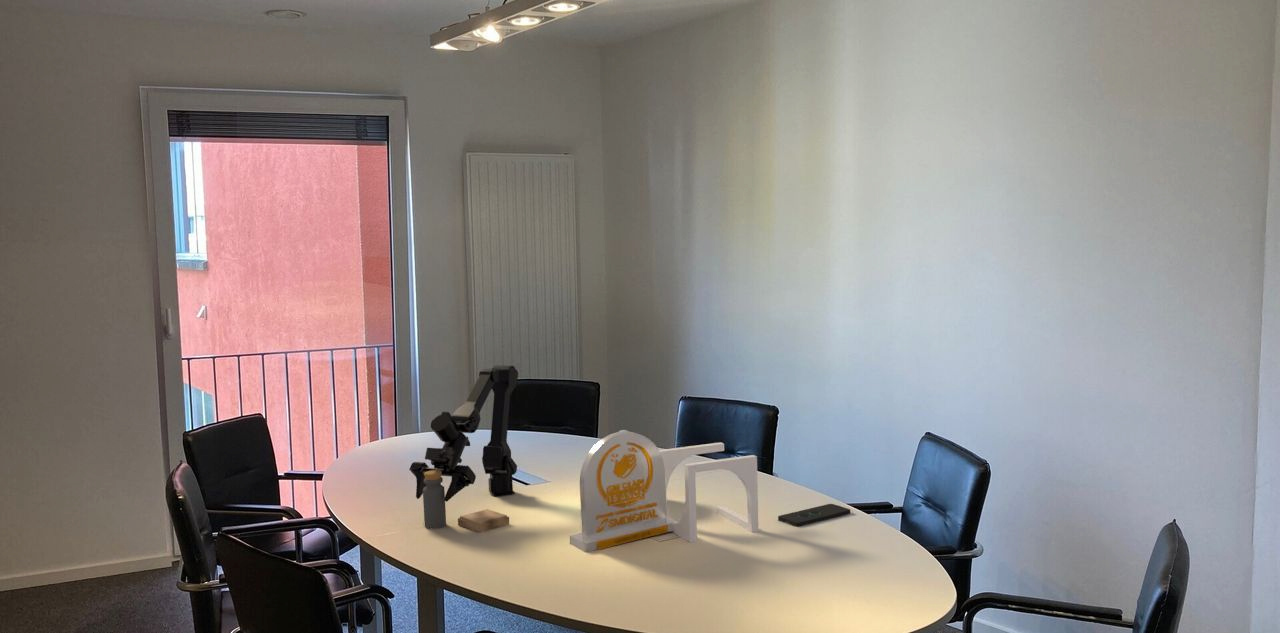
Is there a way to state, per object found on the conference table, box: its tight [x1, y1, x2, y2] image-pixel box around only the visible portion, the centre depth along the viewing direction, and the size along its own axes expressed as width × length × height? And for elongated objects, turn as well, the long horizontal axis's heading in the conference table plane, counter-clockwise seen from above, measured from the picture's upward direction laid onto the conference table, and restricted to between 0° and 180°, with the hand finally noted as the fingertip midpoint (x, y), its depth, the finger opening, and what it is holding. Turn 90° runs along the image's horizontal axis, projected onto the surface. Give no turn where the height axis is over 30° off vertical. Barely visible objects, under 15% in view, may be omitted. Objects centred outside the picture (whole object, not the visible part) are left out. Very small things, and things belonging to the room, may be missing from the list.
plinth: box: [457, 508, 510, 533], centre depth 274 cm, size 10×10×2 cm
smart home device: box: [777, 503, 851, 528], centre depth 273 cm, size 8×2×20 cm
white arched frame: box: [658, 441, 759, 543], centre depth 266 cm, size 20×20×20 cm
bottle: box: [422, 470, 447, 529], centre depth 274 cm, size 6×6×15 cm
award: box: [569, 430, 679, 553], centre depth 258 cm, size 28×9×28 cm, turn 122°
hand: (431, 499), depth 273 cm, fingers open, 9 cm apart
